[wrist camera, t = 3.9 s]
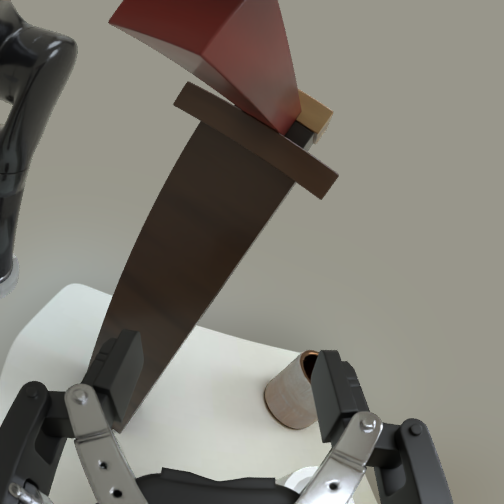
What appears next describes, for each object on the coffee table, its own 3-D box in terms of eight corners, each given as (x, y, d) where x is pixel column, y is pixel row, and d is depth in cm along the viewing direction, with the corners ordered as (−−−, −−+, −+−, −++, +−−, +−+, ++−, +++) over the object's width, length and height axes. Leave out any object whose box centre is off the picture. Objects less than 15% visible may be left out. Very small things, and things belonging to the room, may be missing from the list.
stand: (127, 447, 24) (339, 175, 13) (64, 397, 24) (187, 80, 13) (155, 404, 32) (329, 172, 20) (100, 361, 31) (229, 107, 20)
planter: (278, 435, 38) (320, 406, 34) (253, 381, 46) (288, 347, 42) (320, 425, 44) (358, 397, 41) (295, 379, 52) (328, 349, 49)
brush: (286, 101, 3) (386, -23, 2) (69, 14, 3) (150, -79, 2) (306, 156, 21) (327, 128, 20) (253, 122, 21) (273, 94, 20)
